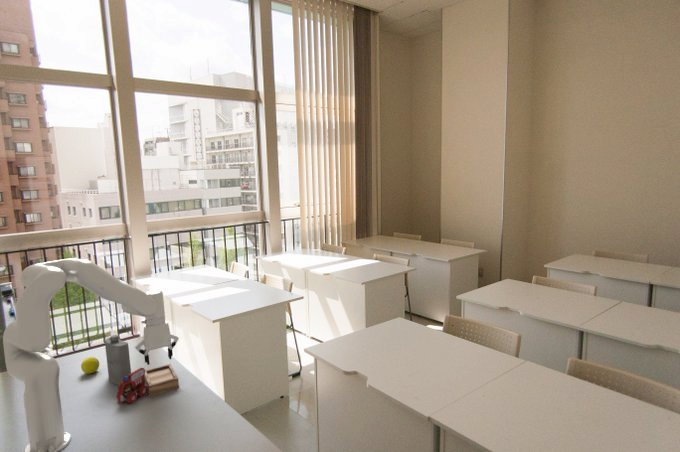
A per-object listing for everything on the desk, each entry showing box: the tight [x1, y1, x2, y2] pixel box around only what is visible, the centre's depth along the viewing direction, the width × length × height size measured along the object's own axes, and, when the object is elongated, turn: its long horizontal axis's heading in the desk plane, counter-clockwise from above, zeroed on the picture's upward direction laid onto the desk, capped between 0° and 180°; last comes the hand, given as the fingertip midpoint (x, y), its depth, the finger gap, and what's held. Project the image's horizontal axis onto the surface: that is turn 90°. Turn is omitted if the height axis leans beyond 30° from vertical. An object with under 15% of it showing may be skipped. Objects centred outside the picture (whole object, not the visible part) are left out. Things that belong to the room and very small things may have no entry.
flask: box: [104, 334, 132, 386], centre depth 181 cm, size 15×6×20 cm, turn 50°
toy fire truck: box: [116, 367, 149, 404], centre depth 166 cm, size 7×12×10 cm, turn 157°
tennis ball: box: [80, 356, 100, 375], centre depth 190 cm, size 7×7×7 cm
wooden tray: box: [144, 363, 180, 397], centre depth 177 cm, size 16×11×4 cm
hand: (159, 360), depth 176 cm, fingers open, 8 cm apart
